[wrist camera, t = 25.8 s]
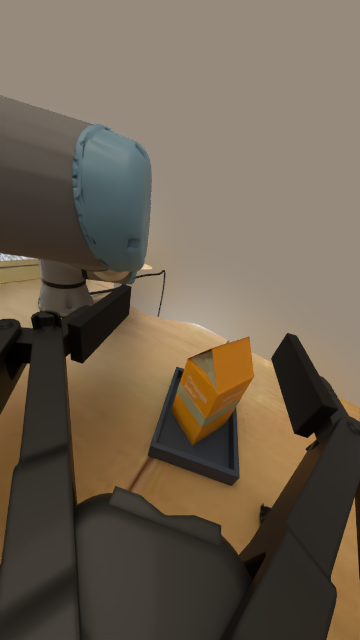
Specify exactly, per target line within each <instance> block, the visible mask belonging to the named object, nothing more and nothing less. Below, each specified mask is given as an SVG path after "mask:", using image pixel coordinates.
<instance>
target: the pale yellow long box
mask: <svg viewBox="0 0 360 640" xmlns="http://www.w3.org/2000/svg"><path fill="white" fill-rule="evenodd" d="M40 278H42V277H41V272H40V266H39V260H38V259H36V258H29V257H22V256H16V255H9V254H2V253H0V283H8V282H16V281H24V280H32V279H40Z"/></svg>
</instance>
